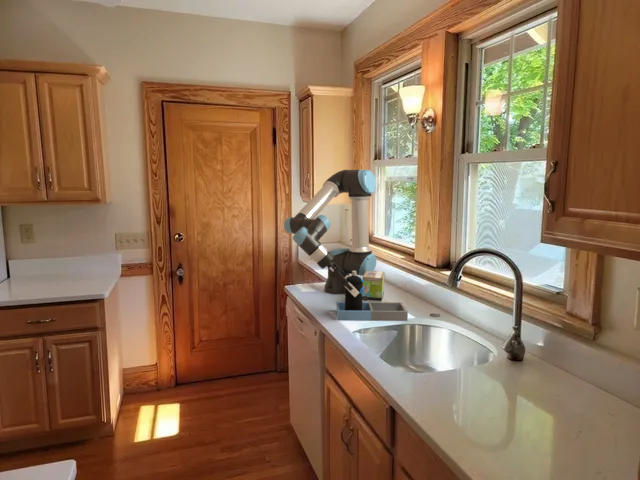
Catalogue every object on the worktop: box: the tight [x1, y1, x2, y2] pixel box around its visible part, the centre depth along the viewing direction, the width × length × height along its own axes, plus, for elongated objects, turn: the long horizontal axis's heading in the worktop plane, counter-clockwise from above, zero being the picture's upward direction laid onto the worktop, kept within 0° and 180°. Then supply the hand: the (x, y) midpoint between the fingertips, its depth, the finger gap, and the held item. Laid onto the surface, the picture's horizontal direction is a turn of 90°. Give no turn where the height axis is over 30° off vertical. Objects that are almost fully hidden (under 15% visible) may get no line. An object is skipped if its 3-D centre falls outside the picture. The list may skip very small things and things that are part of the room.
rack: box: [336, 301, 409, 322], centre depth 193 cm, size 14×30×4 cm, turn 89°
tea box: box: [361, 270, 385, 302], centre depth 211 cm, size 15×10×15 cm
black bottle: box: [344, 271, 363, 311], centre depth 192 cm, size 8×8×20 cm
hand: (356, 290), depth 191 cm, fingers open, 13 cm apart
